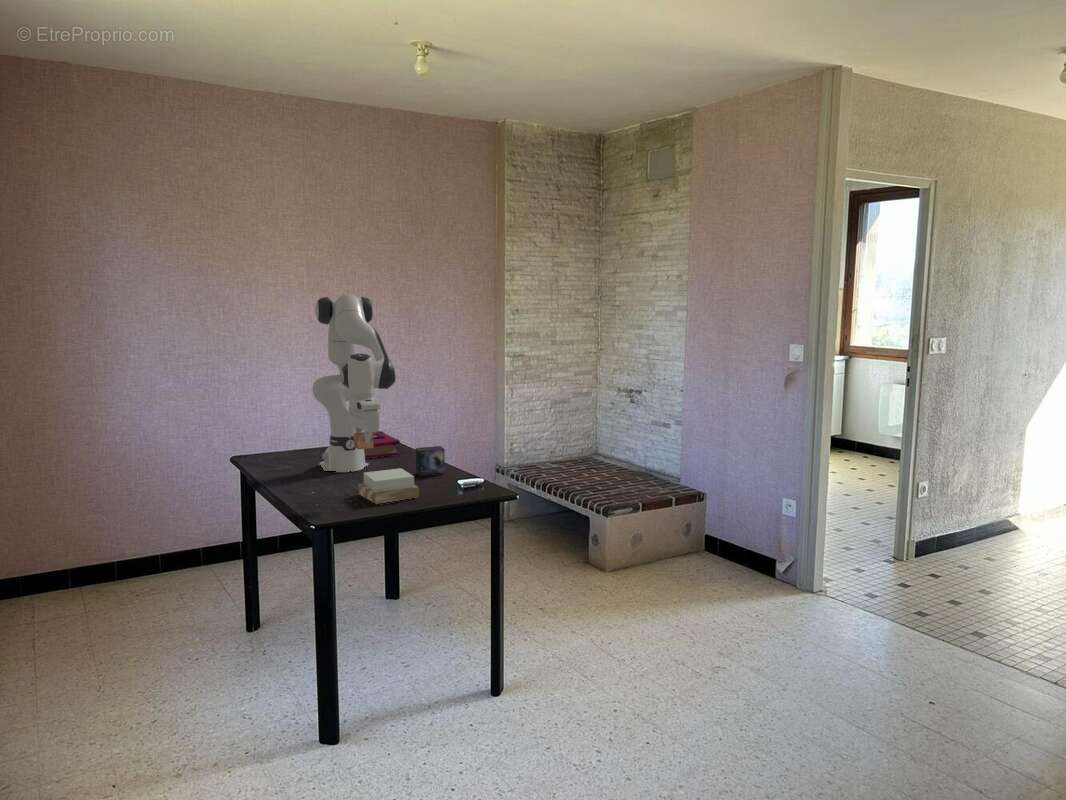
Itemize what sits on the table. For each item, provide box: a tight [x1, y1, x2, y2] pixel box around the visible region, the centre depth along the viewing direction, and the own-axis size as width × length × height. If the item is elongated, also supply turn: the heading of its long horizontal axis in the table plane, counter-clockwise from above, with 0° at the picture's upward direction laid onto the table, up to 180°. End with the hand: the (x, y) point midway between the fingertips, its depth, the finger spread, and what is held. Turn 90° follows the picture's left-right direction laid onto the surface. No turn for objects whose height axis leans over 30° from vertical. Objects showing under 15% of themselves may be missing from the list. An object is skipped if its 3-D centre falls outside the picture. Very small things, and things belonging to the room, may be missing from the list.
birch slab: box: [357, 483, 420, 505], centre depth 270 cm, size 16×16×4 cm
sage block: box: [363, 467, 415, 493], centre depth 270 cm, size 14×14×4 cm
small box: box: [415, 445, 446, 477], centre depth 303 cm, size 11×6×10 cm, turn 112°
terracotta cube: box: [354, 431, 373, 450], centre depth 263 cm, size 5×5×5 cm
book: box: [364, 430, 401, 458], centre depth 345 cm, size 21×28×8 cm
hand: (363, 441), depth 263 cm, fingers closed on terracotta cube, 5 cm apart
